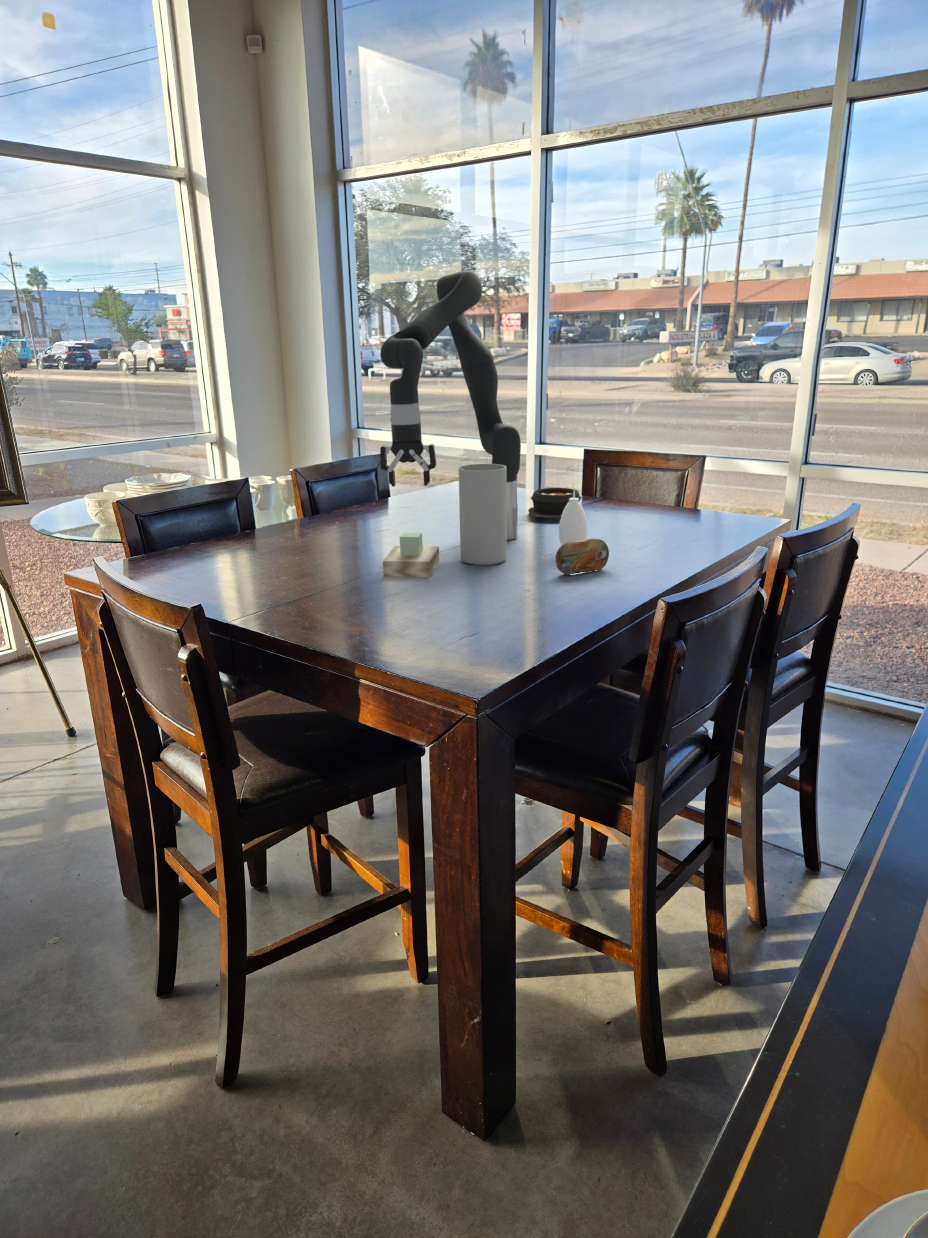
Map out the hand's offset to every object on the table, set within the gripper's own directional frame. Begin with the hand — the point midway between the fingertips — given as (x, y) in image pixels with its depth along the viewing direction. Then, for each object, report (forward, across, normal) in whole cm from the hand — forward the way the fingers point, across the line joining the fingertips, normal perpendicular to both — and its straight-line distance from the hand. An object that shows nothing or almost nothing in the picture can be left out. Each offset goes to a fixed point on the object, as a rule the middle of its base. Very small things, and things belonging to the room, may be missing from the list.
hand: (409, 485), depth 207 cm
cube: (+17, 0, +5) cm, 18 cm away
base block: (+21, 0, +5) cm, 21 cm away
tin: (+22, -44, +9) cm, 50 cm away
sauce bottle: (+22, -43, -10) cm, 49 cm away
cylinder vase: (+21, -18, -3) cm, 28 cm away
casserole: (+22, -39, -62) cm, 76 cm away
